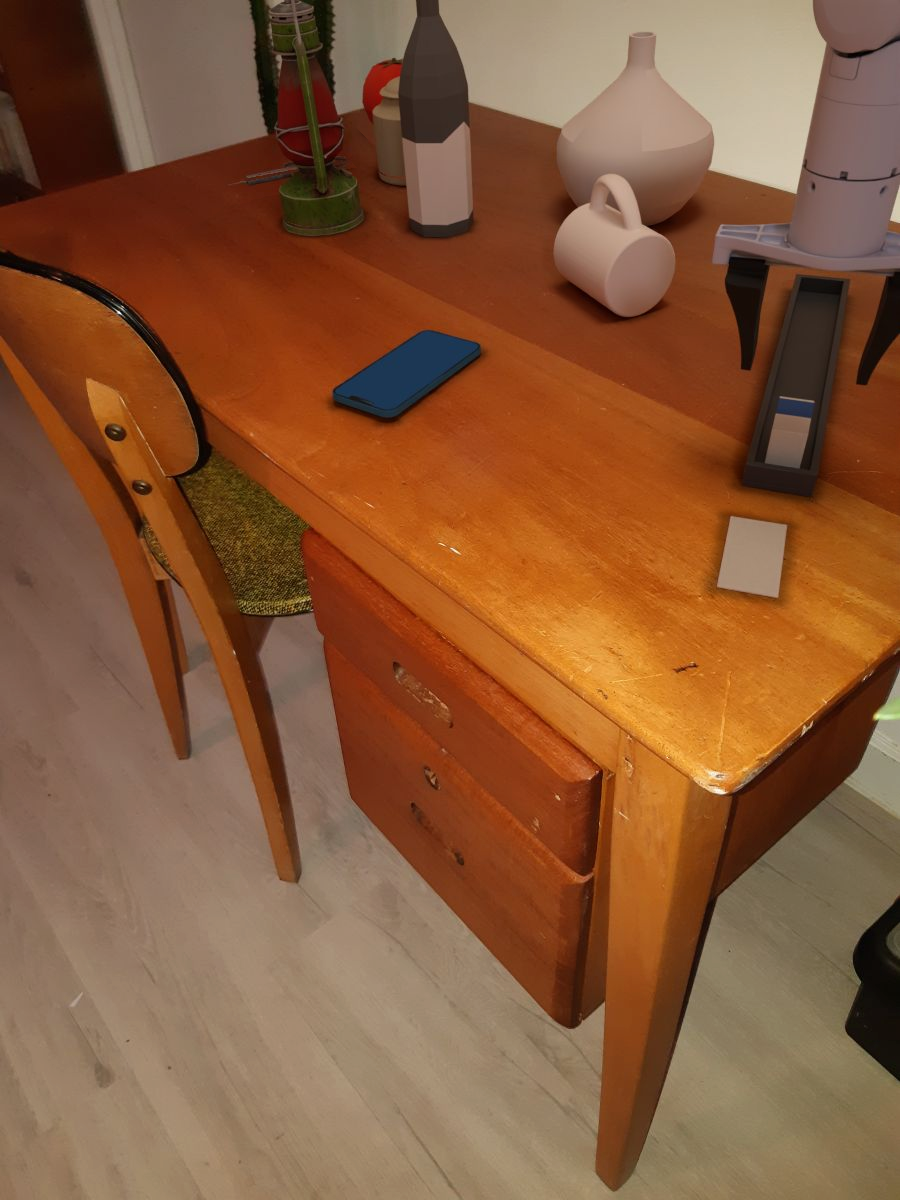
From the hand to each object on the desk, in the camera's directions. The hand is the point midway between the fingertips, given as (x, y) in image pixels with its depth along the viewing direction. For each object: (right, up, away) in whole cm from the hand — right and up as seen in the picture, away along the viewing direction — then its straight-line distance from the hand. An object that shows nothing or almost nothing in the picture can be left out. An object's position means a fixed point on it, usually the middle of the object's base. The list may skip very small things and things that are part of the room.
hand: (803, 370), depth 62 cm
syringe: (-48, +45, +65) cm, 92 cm away
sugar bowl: (-30, +46, +65) cm, 85 cm away
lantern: (-41, +33, +53) cm, 75 cm away
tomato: (-33, +59, +79) cm, 104 cm away
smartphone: (-29, +5, +21) cm, 36 cm away
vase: (-3, +32, +48) cm, 58 cm away
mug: (-8, +16, +31) cm, 36 cm away
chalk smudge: (-3, -13, 0) cm, 13 cm away
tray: (+7, +4, +17) cm, 19 cm away
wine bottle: (-26, +31, +49) cm, 63 cm away
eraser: (+2, -4, +8) cm, 9 cm away
